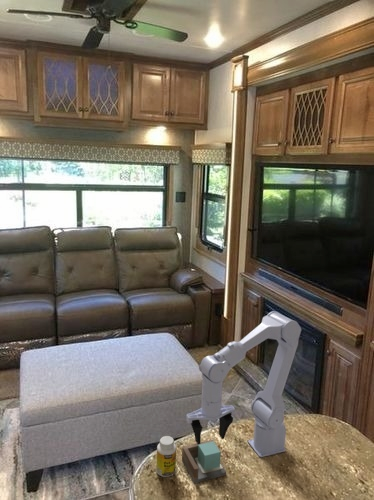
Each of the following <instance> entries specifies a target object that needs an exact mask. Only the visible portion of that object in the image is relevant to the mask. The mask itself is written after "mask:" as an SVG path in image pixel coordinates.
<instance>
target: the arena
mask: <svg viewBox="0 0 374 500" xmlns="http://www.w3.org/2000/svg"><path fill="white" fill-rule="evenodd" d="M212 441H214V440H213V439H211V440H206V441H201V442H200V444H203V443H208V442H212ZM198 445H199V444H197V442H196V443H193V444H189V445H184V446H182V448H181V461H182V462H183V465H184V466H185V469H186V471H187V472H188V475H189V476H190V478H191V480H192V482H193V483H194V484H196V483H200V482H201V483H202V482H204V481H209V480H211V479H216V478H221V477H223V476H226V475H227V471H226V469H225V467H224V466H223V465H222V463H221V462H220V467H217V468H213V469H209V470H205V471H204V470H203V468H202V466H201V464H200V463H199V461H198Z"/></svg>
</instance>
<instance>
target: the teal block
mask: <svg viewBox="0 0 374 500" xmlns="http://www.w3.org/2000/svg"><path fill="white" fill-rule="evenodd" d="M198 461H199V463H200V464H201V466H202V468H203V470H204V471H205V470H209V469H213V468H217V467H220V463H221V450H220V449H219V447H218V445H216V443H215V441H214V440H213V441H212V442H208V443H203V444H199V445H198Z"/></svg>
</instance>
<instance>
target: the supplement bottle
mask: <svg viewBox="0 0 374 500" xmlns="http://www.w3.org/2000/svg"><path fill="white" fill-rule="evenodd" d="M176 463H177V445H176V444H175V441H174V438H173V437H172V436H169V435H164V436H162V437H161V438H160V439H159V443H158V444H157V447H156V473H157V474H158V475H159V476H161V477H163V478H169V477H171V476H173V475H174V474H175V472H176V469H177V468H176V466H177V465H176Z"/></svg>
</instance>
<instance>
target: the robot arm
mask: <svg viewBox="0 0 374 500" xmlns="http://www.w3.org/2000/svg"><path fill="white" fill-rule="evenodd" d="M301 333H302V328H301V326H300V324H299V322H298V321H296V320H293V319H292V318H289V317H287V316H285V315H283V314H281V313H280V312H278V311H276V310H273V311H270V312H269V313H267V315H264V316H263V317H262V319H261V323H259V325H257V326H256V327H255V328H254V329H253V330H251V331H250V332H249V333H248V334H247V335H245V336H243V338H242V339H240V340H239V341H234V340H232V341H230V342H228V343H227V344H226V346H224V347H223V348H221V349H220V350H219V351H217V352H216V353H214V354H213V355H207V356H205V357H203V358H202V360H201V362H200V364H198V369H199V371H200V372H201V375H202V376H201V377H202V379H201V381H202V383H201V407H200V408H199V409H197V410H193V411H192V412H189V413H186V414H185V415H186V416H185V417H186V418H185V419H186V420H185V421H186V422H187V425H189V424H190V425H191V428H192V431H193V434H194V441H195V442H196V443H197V444H200V443H201V442H202V441H201V437H202V431H203V426H202V424H201V422H200V421H203V420H204V421H214V420H218V419H219V420H218V421H219V424H218V426H219V427H218V435H219V437H220V438H221V440H224V439H225V437H226V434H227V431H228V428H229V427H230V425H232V423H233V422H234V417H233V416H234V415H236V409H235V407H234V405H230V404H229V405H222V403H223V402H222V401H223V400H222V397H223V383H224V382H223V381H224V380H225V379H226V378H227V376H228V373H229V372H230V371H231V369H232V368H234V367H235V366H236V365H237V364H239V363H240V362H241V361H243V360H244V359H245V358H246V355H247V352H248V351H250V350H251V349H252V348H254V347H257V346H258V345H259V344H262V342H264V341H266V340H267V339H269V340H276V341H277V343H278V346H277V349H276V351H275V356H274V358H273V361H272V365H271V368H270V371H269V374H268V377H267V379H266V380H267V381H266V383H265V387H264V389H263V390H260V391H257V393H256V396H255V398H254V399H253V401H252V402H251V405H250V410H251V413H252V414H253V418H254V428H253V430H254V431H253V438H252V439H249V440H247V442H248V444H249V445H250V447H251V448H252V450H254V452H255V453H256V454H257V456H258V457H259V458H264V457H268V456H272V455H276V454H281V453H284V452H286V451H287V449H286V448H285V446H286V445H285V444H286V437H287V436H286V435H287V433H286V432H287V429H286V424H285V423H284V420H285V409H286V405H285V403H284V399H283V398H282V395H283V392H284V389H285V386H286V383H287V380H288V377H289V373H290V371H291V368H292V364H293V361H294V358H295V355H296V351H297V349H298V346H299V339H300V336H301Z"/></svg>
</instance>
